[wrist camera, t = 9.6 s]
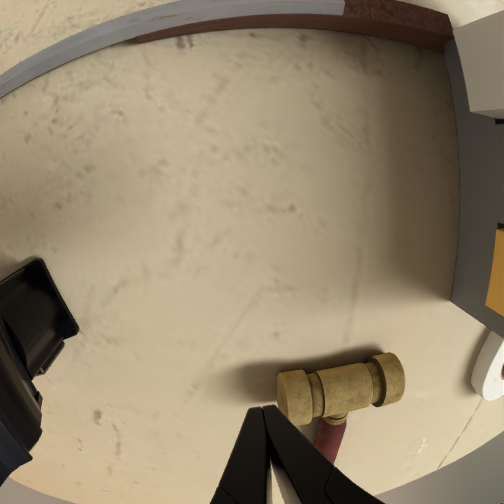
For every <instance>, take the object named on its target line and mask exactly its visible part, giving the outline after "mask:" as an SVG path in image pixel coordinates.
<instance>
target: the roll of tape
mask: <svg viewBox="0 0 504 504" xmlns="http://www.w3.org/2000/svg"><path fill="white" fill-rule="evenodd" d="M503 364H504V339H503V338H502V337H500V336H499V335H498V334H496V333H495V332H493V331H492V330H491V332H490V333H489V335H488V337H487V339H486V341H485V342H484V344H483V346H482V349H481V351H480V353H479V355H478V358H477V360H476V363H475V366H474V369H473V373H472V377H471V384H472V386H473V389H474V390H475V391H476V392H477V393H478V394H479V395H480V396H481V397H482V398H483V399H484V400H486V401H493V400H495V399H497V398H499V397H501V396H502V395H504V366H503Z"/></svg>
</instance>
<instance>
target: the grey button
mask: <svg viewBox="0 0 504 504" xmlns="http://www.w3.org/2000/svg"><path fill="white" fill-rule="evenodd" d="M452 31H453V34H454V37H455V41H456V45H457V48H458V52H459V56H460V60H461V65H462V69H463V74H464V79H465V84H466V89H467V95H468V101H469V108H470V112H473V113H477V114H481V115H485V116H489V117H493V118H497V119H504V10H503V11H500V12H498V13H495V14H492V15H489V16H487V17H484V18H481V19H479V20H476V21H474V22H471V23H469V24H466V25H464V26H462V27H459V28H457V29H455V30H452Z"/></svg>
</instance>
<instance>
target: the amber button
mask: <svg viewBox="0 0 504 504" xmlns="http://www.w3.org/2000/svg"><path fill="white" fill-rule="evenodd" d="M485 305H486V306H487V307H489V308H490V309H492V310H494V311H495V312H497V313H498V314H500V315H501V316H503V317H504V228H502V229H496V239H495V248H494V257H493V264H492V271H491V277H490V283H489V289H488V294H487V299H486V304H485Z"/></svg>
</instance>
